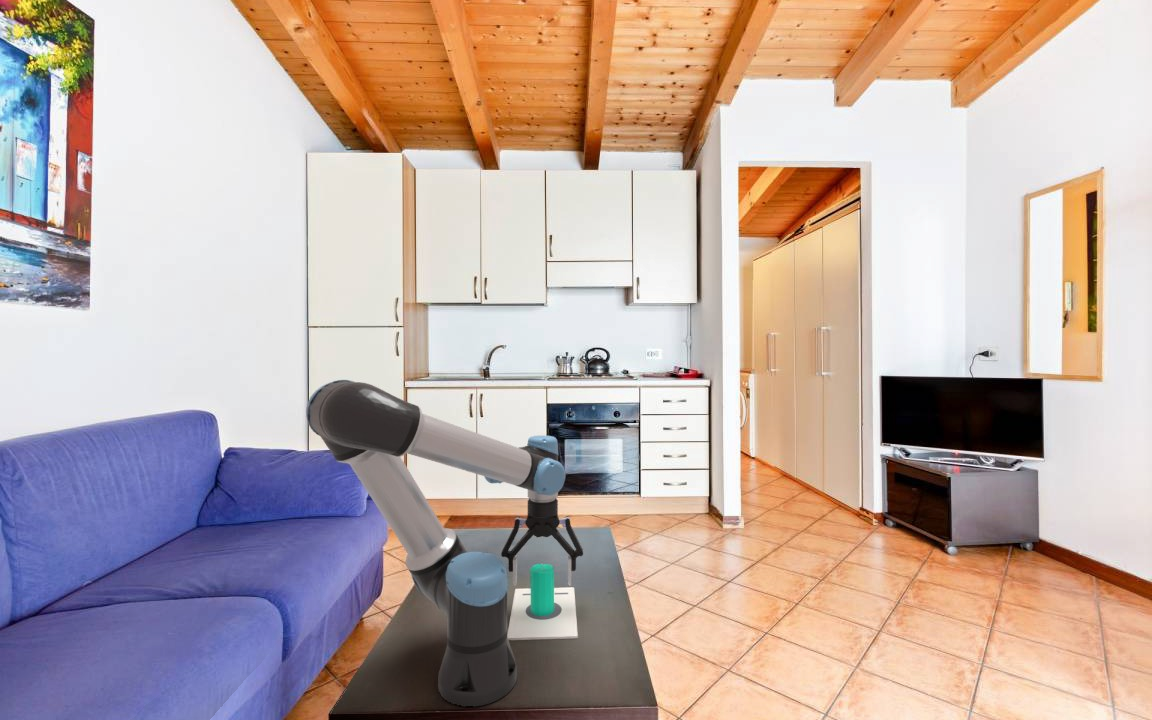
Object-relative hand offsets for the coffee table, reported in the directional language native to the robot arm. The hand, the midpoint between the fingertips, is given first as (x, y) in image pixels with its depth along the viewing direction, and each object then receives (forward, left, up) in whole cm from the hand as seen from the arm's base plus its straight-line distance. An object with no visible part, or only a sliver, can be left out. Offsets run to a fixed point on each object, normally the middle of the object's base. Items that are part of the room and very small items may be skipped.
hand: (542, 584), depth 124 cm
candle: (0, 0, -7) cm, 7 cm away
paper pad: (0, 0, -7) cm, 7 cm away
